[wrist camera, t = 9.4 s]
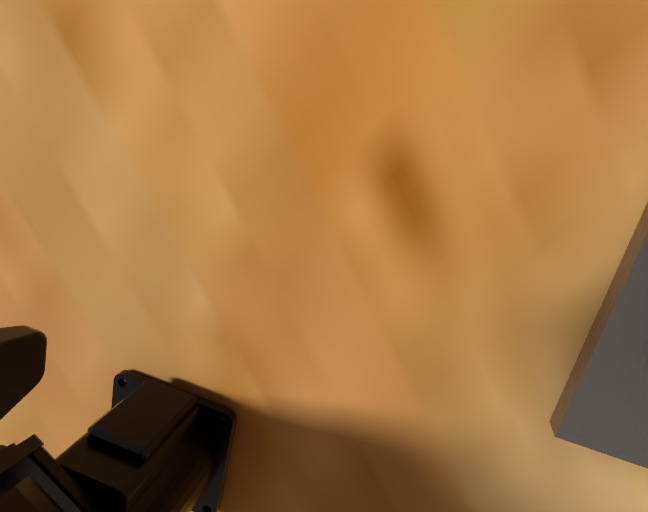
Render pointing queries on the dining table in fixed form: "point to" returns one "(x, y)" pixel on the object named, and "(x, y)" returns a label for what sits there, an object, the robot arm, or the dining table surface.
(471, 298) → the dining table surface
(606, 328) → the metal square socket base
